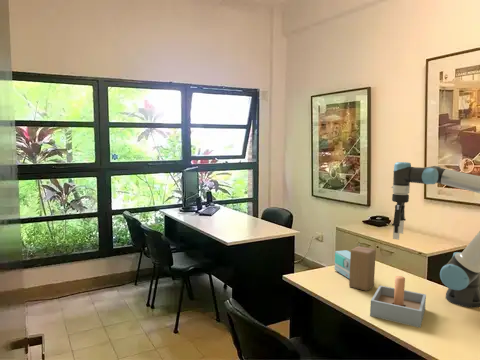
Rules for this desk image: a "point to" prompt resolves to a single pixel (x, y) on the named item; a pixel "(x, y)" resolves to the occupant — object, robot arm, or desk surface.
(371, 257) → the wooden block
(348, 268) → the radio
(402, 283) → the peg
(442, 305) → the desk surface
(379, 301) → the bore box
